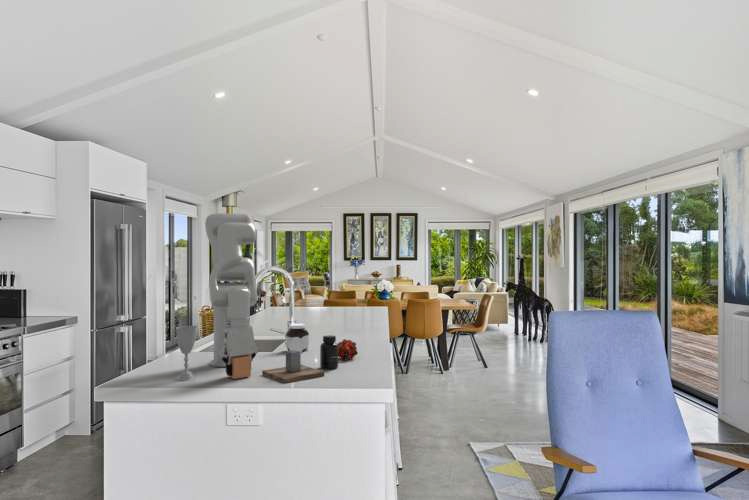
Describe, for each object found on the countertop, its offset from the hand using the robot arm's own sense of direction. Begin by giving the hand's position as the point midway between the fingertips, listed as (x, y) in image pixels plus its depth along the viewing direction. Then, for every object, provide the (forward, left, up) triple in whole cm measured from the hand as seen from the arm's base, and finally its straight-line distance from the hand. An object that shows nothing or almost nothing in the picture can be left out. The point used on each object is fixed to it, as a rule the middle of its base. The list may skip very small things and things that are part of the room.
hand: (238, 373), depth 187 cm
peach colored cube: (0, 0, -1) cm, 1 cm away
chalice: (-9, -15, -1) cm, 18 cm away
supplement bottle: (+9, +33, -2) cm, 34 cm away
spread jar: (-27, +41, -2) cm, 49 cm away
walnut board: (+11, +16, -1) cm, 19 cm away
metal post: (+11, +16, 0) cm, 19 cm away
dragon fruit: (0, +48, -2) cm, 48 cm away
